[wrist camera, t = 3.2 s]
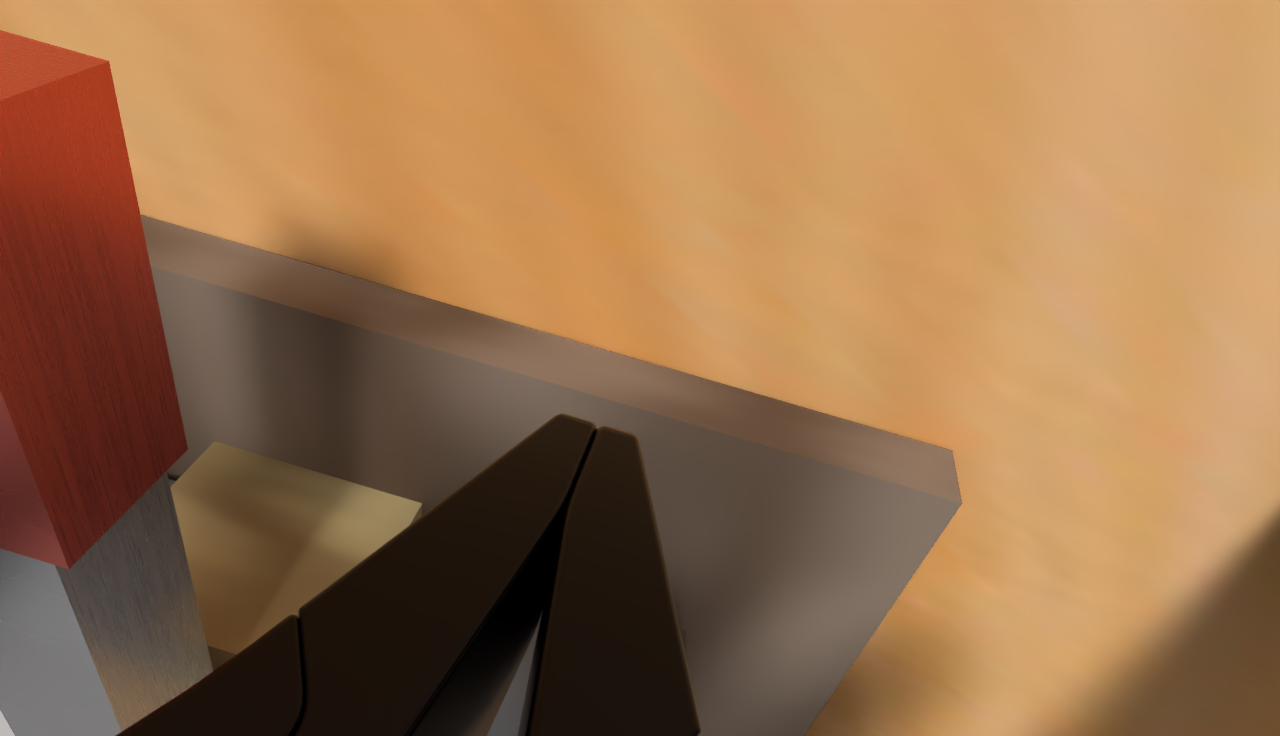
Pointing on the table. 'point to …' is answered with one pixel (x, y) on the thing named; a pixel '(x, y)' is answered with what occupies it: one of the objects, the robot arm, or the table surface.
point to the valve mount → (488, 428)
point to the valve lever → (83, 418)
